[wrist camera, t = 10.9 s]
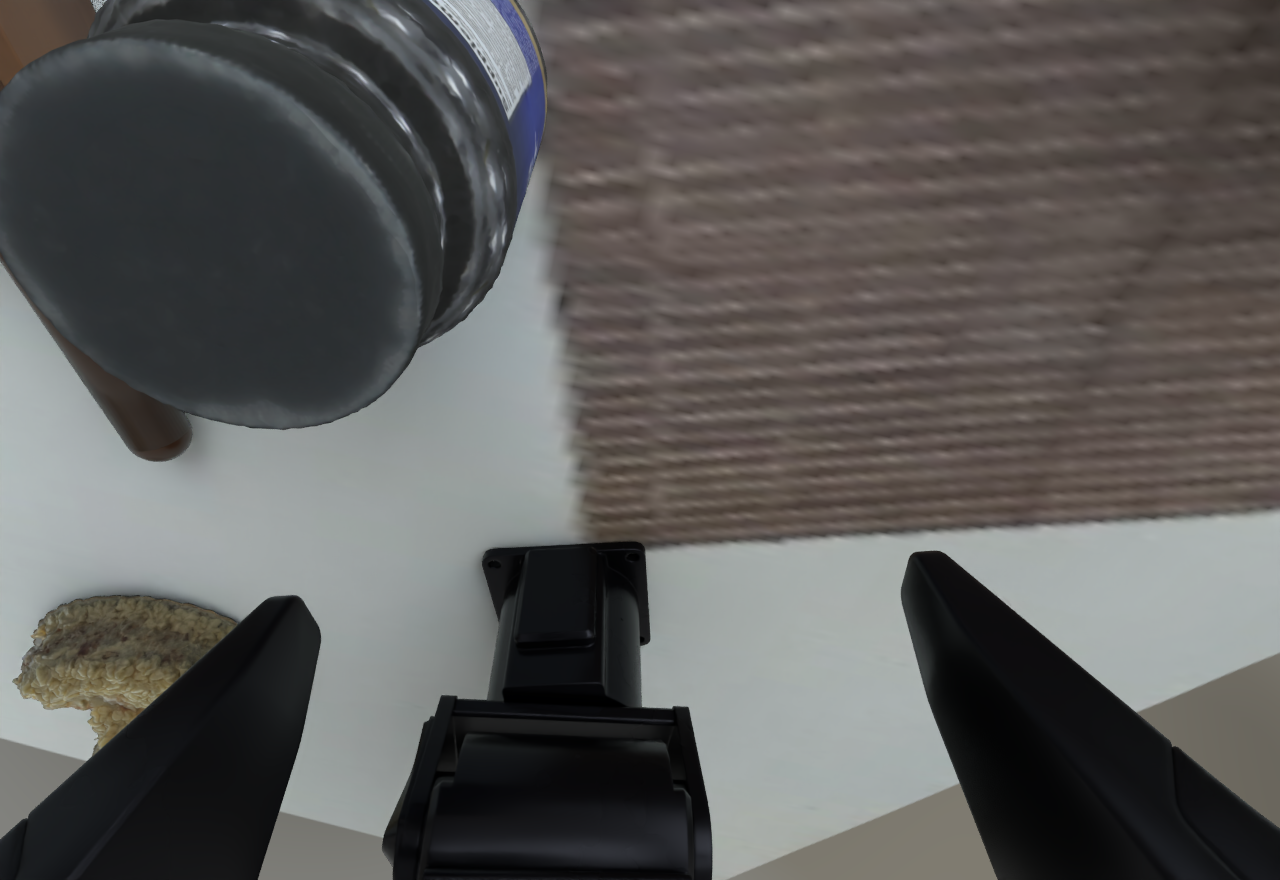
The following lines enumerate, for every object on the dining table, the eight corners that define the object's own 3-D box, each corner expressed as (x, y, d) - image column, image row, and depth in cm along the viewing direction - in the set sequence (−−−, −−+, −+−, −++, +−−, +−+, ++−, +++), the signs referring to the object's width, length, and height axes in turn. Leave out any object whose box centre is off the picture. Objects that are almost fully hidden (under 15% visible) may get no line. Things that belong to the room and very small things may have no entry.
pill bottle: (446, 250, 19) (304, 536, 10) (242, 70, 16) (-194, 260, 7) (603, 90, 16) (589, 289, 8) (396, -158, 14) (13, -272, 5)
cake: (218, 563, 28) (160, 680, 23) (321, 690, 34) (290, 799, 30) (-19, 604, 28) (-119, 729, 23) (128, 723, 34) (70, 838, 30)
